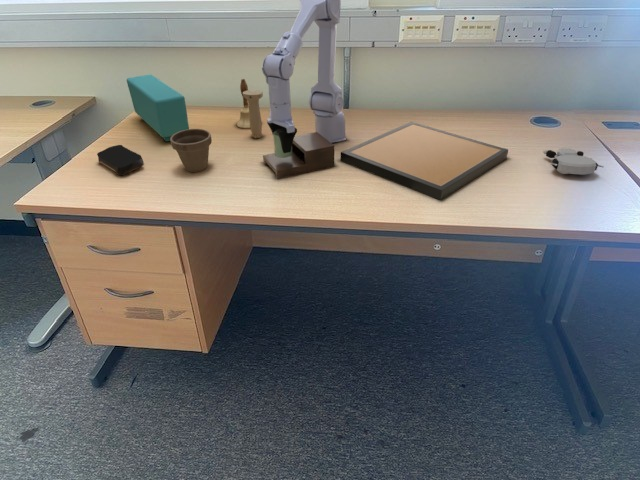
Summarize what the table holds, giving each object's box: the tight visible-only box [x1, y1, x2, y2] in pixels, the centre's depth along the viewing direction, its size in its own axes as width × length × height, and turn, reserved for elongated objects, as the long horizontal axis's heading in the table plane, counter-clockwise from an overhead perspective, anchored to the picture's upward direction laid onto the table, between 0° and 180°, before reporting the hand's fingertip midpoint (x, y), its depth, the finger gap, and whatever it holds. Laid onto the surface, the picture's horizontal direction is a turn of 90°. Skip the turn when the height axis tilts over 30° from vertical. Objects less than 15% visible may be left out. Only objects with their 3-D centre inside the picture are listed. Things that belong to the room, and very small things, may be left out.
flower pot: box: [169, 128, 212, 173], centre depth 133 cm, size 12×11×10 cm
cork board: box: [340, 121, 509, 201], centre depth 137 cm, size 36×3×35 cm
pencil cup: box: [272, 131, 292, 158], centre depth 131 cm, size 5×5×6 cm
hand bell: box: [236, 78, 251, 129], centre depth 161 cm, size 8×8×16 cm
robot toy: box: [542, 147, 604, 176], centre depth 130 cm, size 12×4×15 cm
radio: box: [126, 73, 190, 142], centre depth 160 cm, size 34×10×15 cm, turn 34°
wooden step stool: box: [262, 131, 335, 180], centre depth 135 cm, size 18×12×7 cm, turn 115°
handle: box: [242, 89, 264, 139], centre depth 151 cm, size 5×6×15 cm
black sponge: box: [96, 144, 145, 176], centre depth 137 cm, size 16×8×4 cm, turn 46°
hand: (283, 148), depth 132 cm, fingers closed on pencil cup, 5 cm apart
